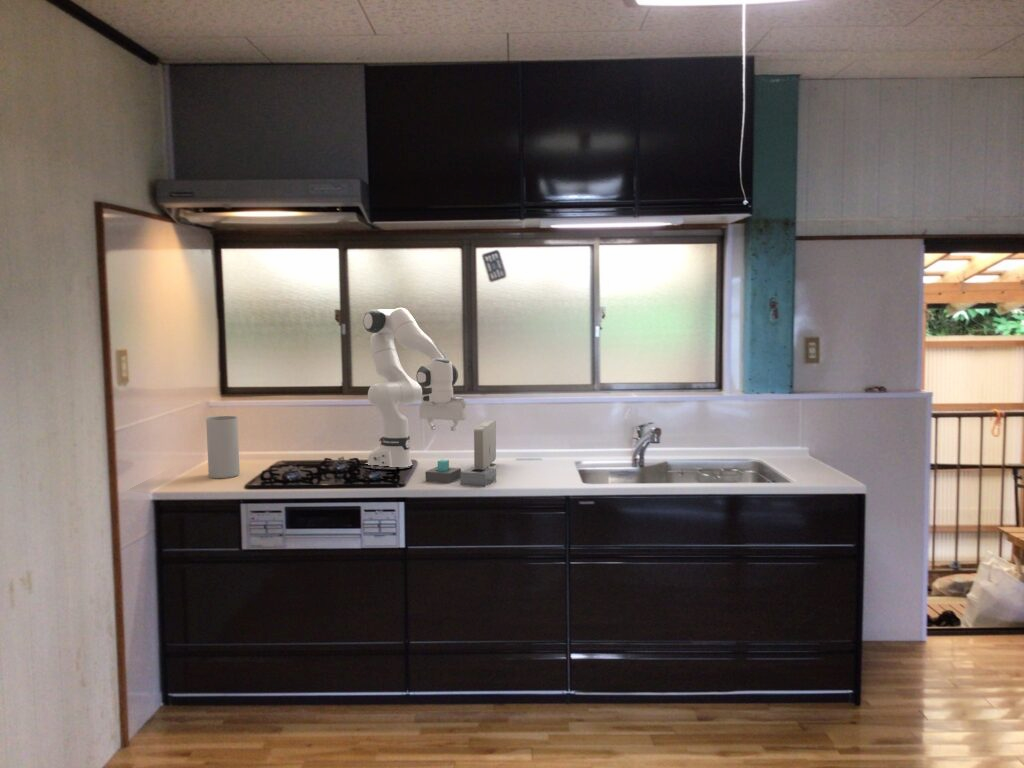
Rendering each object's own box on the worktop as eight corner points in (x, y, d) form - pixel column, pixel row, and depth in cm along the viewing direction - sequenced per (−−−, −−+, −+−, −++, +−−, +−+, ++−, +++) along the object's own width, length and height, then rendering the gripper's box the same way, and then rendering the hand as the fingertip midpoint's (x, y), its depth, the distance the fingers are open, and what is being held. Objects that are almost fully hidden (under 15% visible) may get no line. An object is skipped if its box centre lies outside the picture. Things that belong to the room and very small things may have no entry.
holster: (425, 481, 318) (425, 471, 317) (437, 475, 328) (437, 466, 327) (449, 483, 314) (449, 473, 313) (461, 477, 324) (460, 468, 323)
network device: (488, 475, 329) (487, 429, 327) (468, 474, 330) (467, 428, 328) (500, 463, 354) (500, 420, 352) (482, 462, 355) (481, 419, 353)
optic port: (460, 484, 312) (460, 472, 311) (471, 478, 322) (471, 466, 321) (485, 486, 308) (485, 474, 307) (495, 480, 318) (495, 468, 317)
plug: (437, 480, 320) (437, 461, 319) (441, 478, 323) (441, 459, 322) (445, 480, 318) (445, 461, 318) (449, 478, 322) (448, 460, 321)
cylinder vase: (216, 480, 321) (214, 421, 318) (203, 475, 330) (201, 418, 327) (245, 475, 330) (242, 417, 327) (231, 471, 338) (229, 415, 336)
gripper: (468, 397, 316) (469, 430, 318) (424, 395, 324) (425, 427, 325) (462, 398, 311) (462, 432, 312) (417, 397, 318) (418, 430, 319)
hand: (443, 430), depth 319 cm, fingers open, 8 cm apart
